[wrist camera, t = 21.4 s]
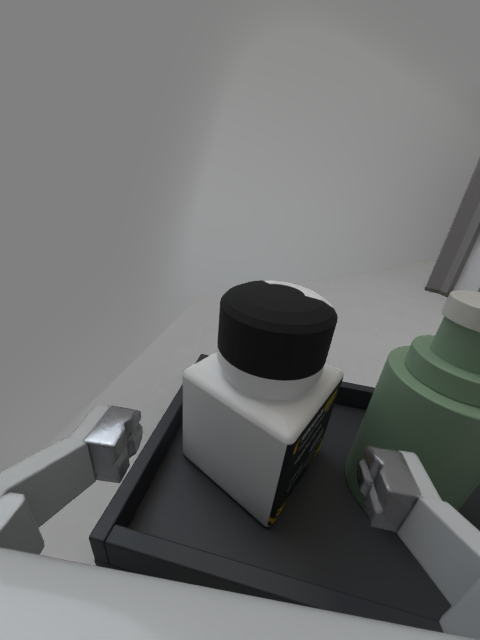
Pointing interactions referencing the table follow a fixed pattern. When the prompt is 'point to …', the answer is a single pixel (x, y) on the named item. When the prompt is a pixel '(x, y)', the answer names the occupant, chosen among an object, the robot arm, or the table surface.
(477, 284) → the grey toy building
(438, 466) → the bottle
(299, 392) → the medicine bottle
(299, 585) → the tray
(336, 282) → the table surface
